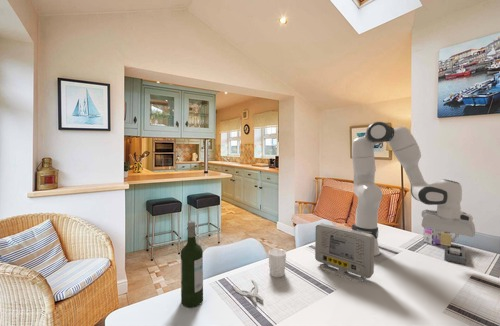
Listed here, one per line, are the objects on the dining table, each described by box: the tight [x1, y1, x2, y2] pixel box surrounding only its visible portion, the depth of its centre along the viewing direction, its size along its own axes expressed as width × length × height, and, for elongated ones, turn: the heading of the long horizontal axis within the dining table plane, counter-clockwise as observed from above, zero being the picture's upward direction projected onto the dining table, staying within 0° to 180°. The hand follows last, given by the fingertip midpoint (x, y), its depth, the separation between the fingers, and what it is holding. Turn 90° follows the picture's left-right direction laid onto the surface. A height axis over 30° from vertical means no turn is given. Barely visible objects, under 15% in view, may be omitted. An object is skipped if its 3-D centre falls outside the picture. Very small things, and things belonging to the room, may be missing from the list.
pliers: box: [232, 279, 264, 306], centre depth 92 cm, size 10×2×15 cm
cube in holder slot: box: [449, 248, 460, 256], centre depth 122 cm, size 4×4×5 cm
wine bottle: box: [180, 220, 204, 309], centre depth 86 cm, size 8×8×30 cm
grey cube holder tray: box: [443, 243, 467, 266], centre depth 126 cm, size 8×20×3 cm, turn 140°
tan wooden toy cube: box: [439, 232, 453, 246], centre depth 116 cm, size 4×4×5 cm
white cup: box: [268, 248, 287, 278], centre depth 107 cm, size 8×8×10 cm
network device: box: [314, 222, 375, 283], centre depth 108 cm, size 26×9×20 cm, turn 47°
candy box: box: [423, 227, 451, 246], centre depth 143 cm, size 14×6×16 cm, turn 104°
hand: (445, 240), depth 116 cm, fingers closed on tan wooden toy cube, 4 cm apart
